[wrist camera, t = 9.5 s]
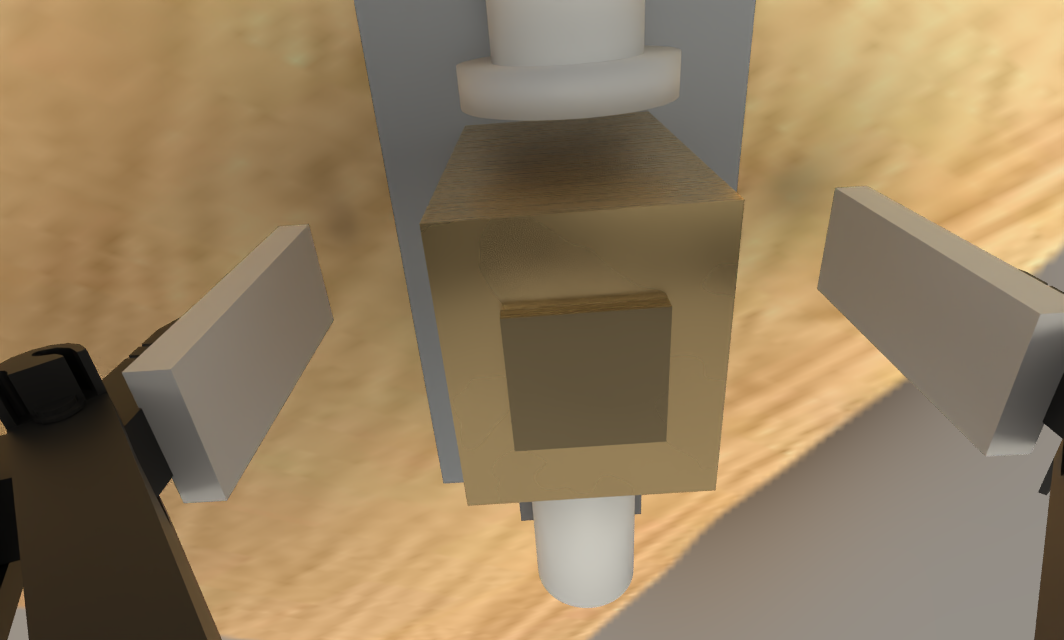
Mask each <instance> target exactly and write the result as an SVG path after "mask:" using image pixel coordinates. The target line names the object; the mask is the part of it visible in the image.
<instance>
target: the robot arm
mask: <svg viewBox="0 0 1064 640" xmlns="http://www.w3.org/2000/svg"><path fill="white" fill-rule="evenodd" d="M817 289H818V290H819V291H820V292H821V293H822V294H823V295H824V296H825V297H826V298H827V299H828V300H829V301H830V302H831V303H832V304H833V305H834V306H835V307H836V308H837V309H838V310H839V311H840V312H841V313H842V314H843V315H844V316H845V317H846V318H847V319H848V320H849V321H850V322H851V323H852V324H853V325H854V326H855V327H856V328H857V329H858V330H859V331H860V332H861V333H862V334H863V335H864V336H865V337H866V338H867V339H868V340H869V341H870V342H871V343H872V344H873V345H874V346H875V347H876V348H877V349H878V350H879V351H880V352H881V353H882V354H883V355H884V356H885V357H886V358H887V359H888V360H889V361H890V362H891V363H892V364H893V365H894V366H895V367H896V368H897V369H898V370H899V371H900V372H901V373H902V374H903V375H904V376H905V377H906V378H907V379H908V380H909V381H910V382H911V383H912V384H913V385H914V386H915V387H916V388H918V390H919V391H920V392H921V393H922V394H923V395H924V396H925V397H926V398H927V399H928V400H929V401H931V403H932V404H933V405H935V407H936V408H937V409H938V410H940V412H941V413H942V414H943V415H944V416H945V417H946V418H948V420H950V421H951V422H952V424H954V425H955V426H956V427H957V429H958V430H960V432H961V433H962V434H964V435H965V436H966V437H967V438H968V439H969V440H970V441H971V442H972V443H973V444H974V445H975V446H976V447H977V448H978V449H979V450H980V451H981V452H982V453H983V454H984V455H985V456H1000V455H1019V454H1031V453H1032V450H1033V448H1034V446H1035V444H1036V441H1037V439H1038V437H1039V434H1040V432H1041V430H1042V427H1043V425H1044V424H1045V425H1047V426H1048V427H1049V428H1050V429H1051V430H1053V431H1054V432H1055V433H1056V434H1058V435H1059V436H1060V437H1061V438H1062V442H1061V444H1060V446H1059V448H1058V450H1057V453H1056V455H1055V457H1054V459H1053V461H1052V463H1051V466H1050V468H1049V470H1048V472H1047V474H1046V476H1045V478H1044V481H1043V483H1042V485H1041V487H1040V490H1039V493H1042V494H1045V495H1047V494H1048V493H1049V491H1050V499H1049V508H1048V518H1047V527H1046V536H1045V545H1044V555H1043V564H1042V574H1041V582H1040V592H1039V601H1038V610H1037V619H1036V630H1035V638H1034V640H1064V292H1062V291H1060V290H1058V289H1057V288H1055V287H1053V286H1048V284H1047V283H1046V282H1044V281H1042V280H1040V279H1038V278H1036V277H1035V276H1033V275H1031V274H1029V273H1027V272H1025V271H1022V270H1019V269H1017V268H1015V267H1013V266H1011V265H1009V264H1008V263H1006V262H1004V261H1002V260H1000V259H999V258H997V257H995V256H993V255H991V254H989V253H988V252H986V251H984V250H982V249H980V248H979V247H977V246H975V245H973V244H971V243H970V242H968V241H966V240H964V239H962V238H960V237H959V236H957V235H955V234H953V233H951V232H950V231H948V230H946V229H944V228H942V227H940V226H939V225H937V224H935V223H933V222H931V221H930V220H928V219H926V218H924V217H922V216H921V215H919V214H917V213H915V212H913V211H911V210H910V209H908V208H906V207H904V206H902V205H901V204H899V203H897V202H895V201H893V200H891V199H890V198H888V197H886V196H884V195H882V194H881V193H879V192H877V191H875V190H873V189H872V188H870V187H868V186H856V187H841V188H835V192H834V197H833V203H832V209H831V214H830V220H829V225H828V231H827V236H826V242H825V248H824V253H823V259H822V264H821V270H820V276H819V281H818V287H817ZM333 320H334V319H333V316H332V312H331V308H330V304H329V300H328V296H327V292H326V289H325V285H324V281H323V277H322V273H321V269H320V265H319V262H318V258H317V254H316V250H315V246H314V242H313V238H312V234H311V231H310V227H309V224H304V225H289V226H278V227H277V228H276V229H275V230H274V231H273V232H272V233H271V234H270V235H269V236H268V237H267V238H266V239H265V240H263V241H262V242H261V243H260V244H259V245H258V246H257V247H256V248H255V249H254V250H253V251H252V252H251V253H249V254H248V255H247V256H246V257H245V258H244V259H243V260H242V261H241V262H240V263H239V264H238V265H237V266H236V267H234V268H233V269H232V270H231V271H230V272H229V273H228V274H227V275H226V276H225V277H224V278H223V279H222V280H220V281H219V282H218V283H217V284H216V285H215V286H214V287H213V288H212V289H211V290H210V291H209V292H208V293H206V294H205V295H204V296H203V297H202V298H201V299H200V300H199V301H198V302H197V303H196V304H195V305H194V306H193V307H191V308H190V309H189V310H188V311H187V312H186V313H185V314H184V315H183V316H182V317H180V318H178V319H177V320H175V321H173V322H171V323H169V324H167V325H166V326H164V327H162V328H160V329H158V330H157V331H156V332H155V333H154V334H152V335H151V336H150V337H149V338H148V339H147V340H146V341H145V342H144V343H143V344H142V347H138V348H137V349H136V350H135V351H134V352H133V353H132V354H130V355H129V358H127V359H125V360H124V361H123V362H122V363H120V364H119V365H118V366H117V367H116V368H115V369H114V370H113V371H112V372H111V373H109V374H108V375H107V376H106V377H105V378H104V379H103V380H101V378H100V376H99V374H98V372H97V370H96V368H95V366H94V364H93V362H92V360H91V358H90V356H89V354H88V352H87V350H86V349H85V348H84V347H83V346H81V345H80V344H70V343H66V344H57V345H50V346H46V347H42V348H38V349H34V350H31V351H28V352H25V353H23V354H20V355H17V356H15V357H12V358H10V359H8V360H6V361H4V362H3V363H1V364H0V420H1V421H2V423H3V424H4V426H5V428H6V429H7V434H6V435H2V436H0V640H7V639H8V636H9V632H10V629H11V626H12V622H13V619H14V616H15V612H16V609H17V606H18V602H19V599H20V596H21V592H22V589H23V588H24V598H25V607H26V616H27V626H28V635H29V640H222V639H221V637H220V634H219V632H218V630H217V627H216V625H215V623H214V620H213V618H212V616H211V613H210V611H209V609H208V606H207V604H206V602H205V599H204V597H203V595H202V592H201V590H200V587H199V585H198V583H197V580H196V578H195V576H194V573H193V571H192V569H191V566H190V564H189V562H188V559H187V557H186V555H185V552H184V550H183V548H182V545H181V543H180V541H179V538H178V536H177V534H176V531H175V529H174V527H173V524H172V522H171V520H170V517H169V515H168V513H167V510H166V508H165V506H164V504H163V502H162V500H161V498H160V496H159V494H160V493H161V492H162V490H163V489H164V488H165V486H166V485H167V484H168V482H169V481H170V479H171V478H172V479H173V481H174V483H175V485H176V488H177V490H178V492H179V494H180V496H181V498H182V500H183V502H184V503H196V502H213V501H227V500H228V498H229V496H230V495H231V493H232V491H233V489H234V488H235V486H236V484H237V483H238V481H239V479H240V478H241V476H242V474H243V473H244V471H245V469H246V467H247V466H248V464H249V462H250V461H251V459H252V457H253V456H254V454H255V452H256V451H257V449H258V447H259V446H260V444H261V442H262V440H263V439H264V437H265V435H266V434H267V432H268V430H269V429H270V427H271V425H272V424H273V422H274V420H275V418H276V417H277V415H278V413H279V412H280V410H281V408H282V407H283V405H284V403H285V402H286V400H287V398H288V397H289V395H290V393H291V391H292V390H293V388H294V386H295V385H296V383H297V381H298V380H299V378H300V376H301V375H302V373H303V371H304V369H305V368H306V366H307V364H308V363H309V361H310V359H311V358H312V356H313V354H314V353H315V351H316V349H317V347H318V346H319V344H320V342H321V341H322V339H323V337H324V336H325V334H326V332H327V331H328V329H329V327H330V326H331V324H332V322H333Z"/></svg>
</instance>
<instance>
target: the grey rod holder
mask: <svg viewBox="0 0 1064 640" xmlns="http://www.w3.org/2000/svg"><path fill="white" fill-rule="evenodd" d="M755 2H756V0H354V4H355V9H356V15H357V20H358V26H359V31H360V36H361V42H362V47H363V52H364V58H365V63H366V69H367V74H368V79H369V85H370V90H371V96H372V101H373V106H374V112H375V117H376V122H377V128H378V133H379V139H380V144H381V149H382V155H383V160H384V165H385V171H386V176H387V182H388V187H389V192H390V198H391V203H392V209H393V214H394V219H395V225H396V230H397V235H398V241H399V246H400V252H401V257H402V262H403V268H404V273H405V279H406V284H407V289H408V295H409V300H410V305H411V311H412V316H413V322H414V327H415V332H416V338H417V343H418V348H419V354H420V359H421V365H422V370H423V375H424V381H425V386H426V392H427V397H428V402H429V408H430V413H431V418H432V424H433V429H434V435H435V440H436V445H437V451H438V456H439V461H440V467H441V472H442V478H443V483H460V482H464V480H463V474H462V469H461V463H460V457H459V451H458V445H457V440H456V434H455V428H454V422H453V416H452V411H451V405H450V399H449V393H448V387H447V382H446V376H445V370H444V364H443V358H442V353H441V347H440V341H439V335H438V329H437V324H436V318H435V312H434V306H433V300H432V295H431V289H430V283H429V277H428V271H427V266H426V260H425V254H424V248H423V242H422V237H421V231H420V225H419V224H420V221H421V219H422V217H423V215H424V213H425V211H426V208H427V206H428V204H429V202H430V200H431V198H432V196H433V193H434V191H435V189H436V187H437V185H438V183H439V181H440V178H441V176H442V174H443V172H444V170H445V168H446V165H447V163H448V161H449V159H450V157H451V155H452V153H453V150H454V148H455V146H456V144H457V142H458V140H459V138H460V135H461V133H462V131H463V129H464V127H465V126H468V125H481V124H493V123H506V122H519V121H540V120H566V119H581V118H593V117H602V116H611V115H618V114H625V113H633V112H646V111H649V112H650V113H651V114H652V115H653V116H654V117H655V118H656V119H657V120H658V121H660V122H661V123H662V124H663V125H664V126H665V127H666V128H667V129H668V130H669V131H670V132H671V133H673V134H674V135H675V136H676V137H677V138H678V139H679V140H680V141H681V142H682V143H683V144H685V145H686V146H687V147H688V148H689V149H690V150H691V151H692V152H693V153H694V154H695V155H696V156H698V157H699V158H700V159H701V160H702V161H703V162H704V163H705V164H706V165H707V166H708V167H710V168H711V169H712V170H713V171H714V172H715V173H716V174H717V175H718V176H719V177H720V178H721V179H723V180H724V181H725V182H726V183H727V184H728V185H729V186H730V187H731V188H732V189H733V190H734V191H736V192H737V184H738V174H739V164H740V154H741V144H742V134H743V124H744V114H745V103H746V93H747V83H748V73H749V63H750V53H751V43H752V33H753V23H754V13H755ZM520 512H521V521H525V520H534V528H535V539H536V550H537V561H538V571H539V576H540V579H541V582H542V584H543V585H544V587H545V588H546V590H547V591H548V592H549V593H550V594H551V595H552V596H553V597H555V598H556V599H558V600H559V601H561V602H563V603H565V604H568V605H571V606H575V607H581V608H593V607H599V606H603V605H606V604H608V603H611V602H612V601H614V600H616V599H617V598H619V597H620V596H621V595H622V594H623V593H624V592H625V591H626V589H627V588H628V586H629V584H630V582H631V580H632V576H633V562H634V514H641V495H631V496H615V497H599V498H583V499H567V500H551V501H535V502H520Z"/></svg>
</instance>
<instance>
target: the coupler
mask: <svg viewBox="0 0 1064 640" xmlns="http://www.w3.org/2000/svg"><path fill="white" fill-rule="evenodd" d="M743 209H744V199H743V198H742V197H741V196H740V195H739V194H738V193H737V192H736V191H734V190H733V189H732V188H731V187H730V186H729V185H728V184H727V183H726V182H725V181H724V180H723V179H721V178H720V177H719V176H718V175H717V174H716V173H715V172H714V171H713V170H712V169H711V168H710V167H708V166H707V165H706V164H705V163H704V162H703V161H702V160H701V159H700V158H699V157H698V156H696V155H695V154H694V153H693V152H692V151H691V150H690V149H689V148H688V147H687V146H686V145H685V144H683V143H682V142H681V141H680V140H679V139H678V138H677V137H676V136H675V135H674V134H673V133H671V132H670V131H669V130H668V129H667V128H666V127H665V126H664V125H663V124H662V123H661V122H660V121H658V120H657V119H656V118H655V117H654V116H653V115H652V114H651V113H650V112H649V111H646V112H633V113H625V114H618V115H611V116H602V117H593V118H581V119H566V120H540V121H519V122H506V123H493V124H481V125H468V126H465V127H464V129H463V131H462V133H461V135H460V138H459V140H458V142H457V144H456V146H455V148H454V150H453V153H452V155H451V157H450V159H449V161H448V163H447V165H446V168H445V170H444V172H443V174H442V176H441V178H440V181H439V183H438V185H437V187H436V189H435V191H434V193H433V196H432V198H431V200H430V202H429V204H428V206H427V208H426V211H425V213H424V215H423V217H422V219H421V221H420V224H419V225H420V231H421V237H422V242H423V248H424V254H425V260H426V266H427V271H428V277H429V283H430V289H431V295H432V300H433V306H434V312H435V318H436V324H437V329H438V335H439V341H440V347H441V353H442V358H443V364H444V370H445V376H446V382H447V387H448V393H449V399H450V405H451V411H452V416H453V422H454V428H455V434H456V440H457V445H458V451H459V457H460V463H461V469H462V474H463V480H464V486H465V492H466V498H467V503H468V506H471V505H487V504H503V503H519V502H535V501H551V500H567V499H583V498H599V497H615V496H631V495H647V494H663V493H680V492H696V491H712V490H716V480H717V470H718V460H719V450H720V440H721V430H722V420H723V410H724V400H725V390H726V380H727V370H728V360H729V350H730V340H731V330H732V320H733V309H734V299H735V289H736V279H737V269H738V259H739V249H740V239H741V229H742V219H743Z"/></svg>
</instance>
